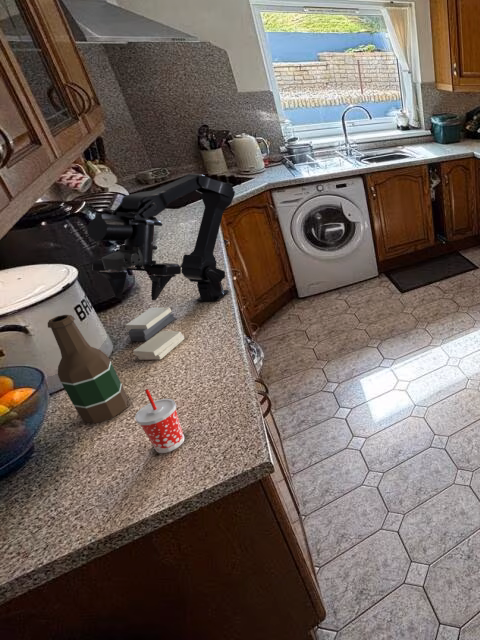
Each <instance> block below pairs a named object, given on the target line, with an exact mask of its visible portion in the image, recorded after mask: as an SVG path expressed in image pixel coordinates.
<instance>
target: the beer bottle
mask: <svg viewBox="0 0 480 640" xmlns="http://www.w3.org/2000/svg"><path fill="white" fill-rule="evenodd" d="M75 319H76V318H75V317H74V316H73V315H71V314H62V315H57V316H54V317H53V318H51V319H49V320H48V321H47V328H49V329H51V332H52V334H53V337H54V339H55V341H56V343H57V346H58V349H59V351H60V356H61V358H60V361H59V363H58V365H57V377H58V379H59V382H60V383H61V385H62V387H63V389H64V390H65V392H66V394H67V396H68V398H69V399H70V401H71V403H72V405H73V407H74V408H75V410H76V412H77V414H78V416H79V417H80V418H81V420H82V421H83V422H86V423H92V424H99V423H101V422H104V421H107V420H110V419H113V418H115V417H116V416H118V415H119V414H121V412H124V411H125V410H126V409H127V405H128V402H129V401H128V400H129V399H128V395H127V392H126V391H125V388H124V386H123V384H122V382H121V379H120V378H119V376H118V373H117V372H116V370H115V367H114V365H113V363H112V361H111V359H110V358H109V356H108V355H107V354H106V353H105V352H104V351H102V350H101V349H99V348H96V347H94V346H91V345H90V344H89V342H87V340H86V338H85V337H84V335H83V334H82V332H81V331H80V329H79V328H78V326H77V325H76V323H75Z"/></svg>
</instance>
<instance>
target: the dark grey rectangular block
mask: <svg viewBox="0 0 480 640" xmlns="http://www.w3.org/2000/svg"><path fill="white" fill-rule="evenodd" d="M174 320H175V316H174V314H172V312H170V313H169V314H168V315H166V316H165V317H164V318H162V319H161V320H159V321H158V322H157V323H155V324H154V325H153V326H151V327H150V328H149V329H128V331H127V333H128V337H129V340H130V341H131V342H146V341H148V340H149V339H151V338H152V337H153V336H155V335H156V334H158V333H159V332H161V331H162V330H163V329H164V328H165V327H166V326H168V325H169V324H171V322H173V321H174Z"/></svg>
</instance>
